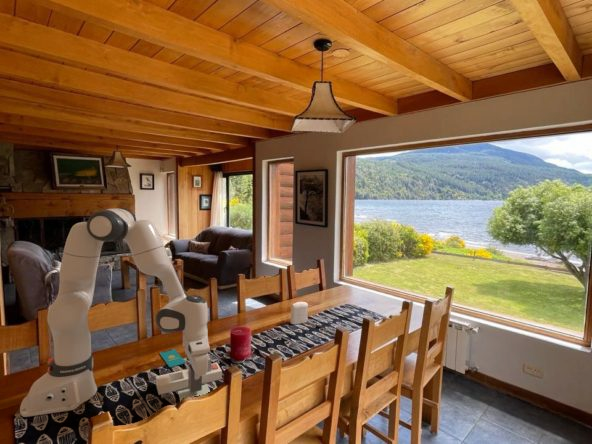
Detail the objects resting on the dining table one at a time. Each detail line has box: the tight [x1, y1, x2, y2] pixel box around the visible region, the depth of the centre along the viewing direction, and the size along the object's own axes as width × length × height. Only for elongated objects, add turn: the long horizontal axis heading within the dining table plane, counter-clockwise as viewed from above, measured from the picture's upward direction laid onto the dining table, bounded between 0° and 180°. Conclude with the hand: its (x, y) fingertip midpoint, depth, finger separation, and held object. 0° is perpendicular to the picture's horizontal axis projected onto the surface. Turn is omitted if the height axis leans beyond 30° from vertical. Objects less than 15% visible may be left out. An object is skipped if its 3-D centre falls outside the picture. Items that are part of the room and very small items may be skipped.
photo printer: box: [289, 301, 309, 325], centre depth 196 cm, size 10×4×12 cm, turn 116°
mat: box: [177, 383, 211, 402], centre depth 127 cm, size 11×7×1 cm, turn 120°
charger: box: [187, 363, 203, 393], centre depth 126 cm, size 4×4×9 cm
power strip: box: [155, 354, 223, 396], centre depth 134 cm, size 24×7×8 cm, turn 120°
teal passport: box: [159, 348, 187, 369], centre depth 151 cm, size 7×1×15 cm
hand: (194, 374), depth 126 cm, fingers closed on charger, 4 cm apart
